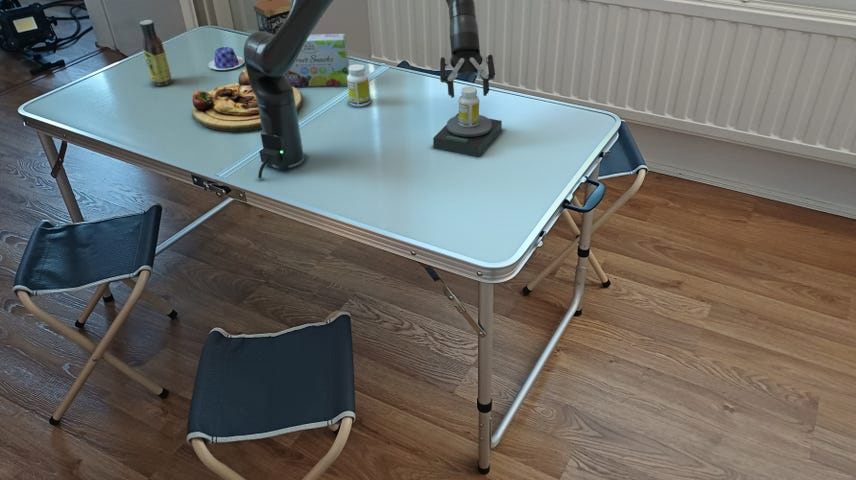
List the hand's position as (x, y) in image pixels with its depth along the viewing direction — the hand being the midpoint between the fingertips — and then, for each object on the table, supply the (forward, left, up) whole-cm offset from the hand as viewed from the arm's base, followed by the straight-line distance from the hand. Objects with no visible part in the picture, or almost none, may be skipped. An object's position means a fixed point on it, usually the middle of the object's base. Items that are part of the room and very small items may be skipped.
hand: (469, 95), depth 189 cm
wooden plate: (-8, +68, -12) cm, 69 cm away
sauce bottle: (-3, +106, -12) cm, 107 cm away
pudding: (+17, +96, -12) cm, 98 cm away
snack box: (+15, +59, -12) cm, 62 cm away
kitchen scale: (-1, 0, -12) cm, 12 cm away
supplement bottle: (0, 0, -8) cm, 8 cm away
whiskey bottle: (+25, +79, -12) cm, 84 cm away
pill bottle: (+8, +39, -12) cm, 41 cm away
